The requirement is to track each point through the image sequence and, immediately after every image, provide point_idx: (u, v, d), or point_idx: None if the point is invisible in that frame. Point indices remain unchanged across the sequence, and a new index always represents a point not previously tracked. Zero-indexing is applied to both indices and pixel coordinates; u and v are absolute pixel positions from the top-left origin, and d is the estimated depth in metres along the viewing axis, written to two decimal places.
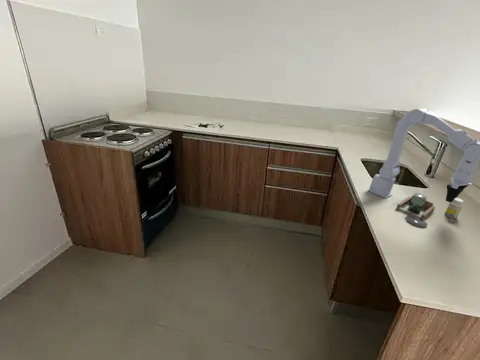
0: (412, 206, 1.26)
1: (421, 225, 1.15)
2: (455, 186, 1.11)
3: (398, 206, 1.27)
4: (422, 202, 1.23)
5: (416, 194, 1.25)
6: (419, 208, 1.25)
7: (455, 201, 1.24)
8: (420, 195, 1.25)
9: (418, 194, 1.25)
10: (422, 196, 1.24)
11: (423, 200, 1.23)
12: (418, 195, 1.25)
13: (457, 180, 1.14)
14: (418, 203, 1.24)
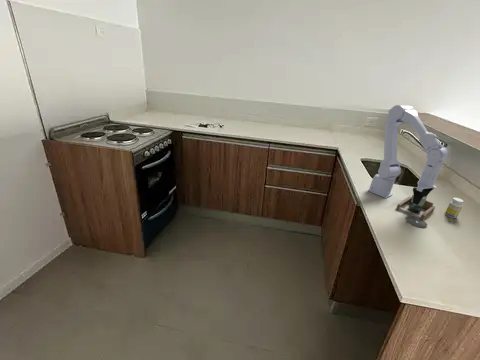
0: (412, 206, 1.26)
1: (421, 225, 1.15)
2: (420, 189, 1.18)
3: (398, 206, 1.27)
4: (422, 202, 1.23)
5: None
6: (419, 208, 1.25)
7: (455, 201, 1.24)
8: None
9: None
10: None
11: (423, 200, 1.23)
12: None
13: (422, 183, 1.21)
14: None
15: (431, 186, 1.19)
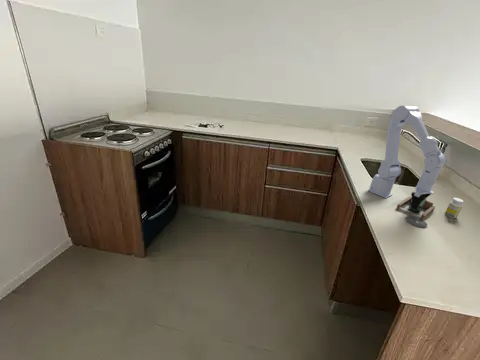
0: None
1: (421, 225, 1.15)
2: (417, 195, 1.19)
3: (398, 206, 1.27)
4: (422, 202, 1.23)
5: None
6: (419, 208, 1.25)
7: (455, 201, 1.24)
8: None
9: None
10: None
11: (423, 200, 1.23)
12: None
13: (420, 189, 1.22)
14: None
15: (428, 192, 1.21)
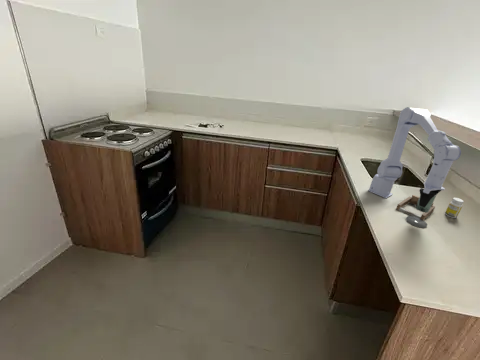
0: None
1: (421, 225, 1.15)
2: (426, 191, 1.06)
3: (398, 206, 1.27)
4: (431, 200, 1.11)
5: None
6: (427, 206, 1.12)
7: (455, 201, 1.24)
8: None
9: None
10: None
11: None
12: None
13: (429, 184, 1.09)
14: None
15: (439, 188, 1.08)
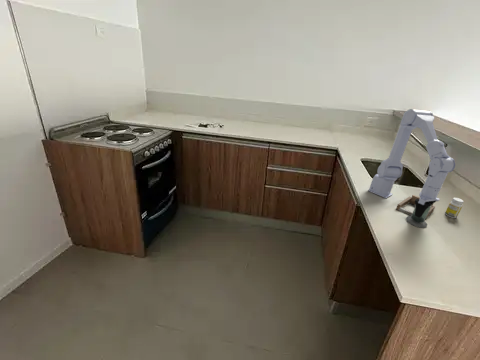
0: None
1: (421, 225, 1.15)
2: (422, 202, 1.08)
3: (398, 206, 1.27)
4: (426, 210, 1.13)
5: None
6: (423, 217, 1.14)
7: (455, 201, 1.24)
8: None
9: None
10: None
11: (427, 208, 1.12)
12: None
13: (424, 195, 1.11)
14: None
15: (434, 198, 1.10)
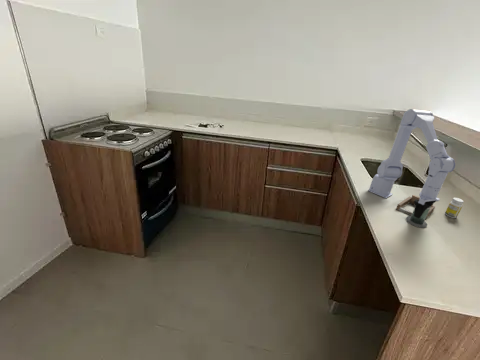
0: (414, 216, 1.16)
1: (421, 225, 1.15)
2: (422, 202, 1.08)
3: (398, 206, 1.27)
4: (425, 212, 1.13)
5: None
6: (422, 218, 1.15)
7: (455, 201, 1.24)
8: None
9: None
10: None
11: (426, 210, 1.13)
12: None
13: (424, 195, 1.11)
14: None
15: (434, 198, 1.10)
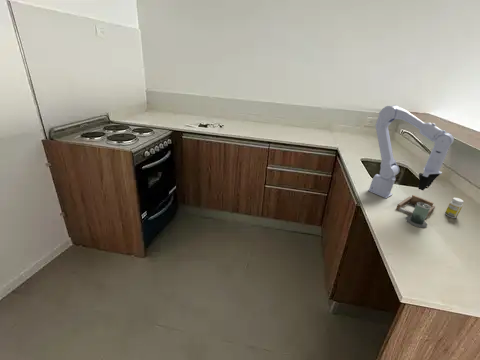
0: (414, 216, 1.16)
1: (421, 225, 1.15)
2: (426, 174, 1.19)
3: (398, 206, 1.27)
4: (425, 212, 1.13)
5: (419, 203, 1.15)
6: (422, 219, 1.15)
7: (455, 201, 1.24)
8: (423, 204, 1.15)
9: (421, 204, 1.15)
10: (425, 206, 1.14)
11: (426, 210, 1.13)
12: (421, 204, 1.15)
13: (428, 169, 1.22)
14: (421, 213, 1.14)
15: (437, 172, 1.21)
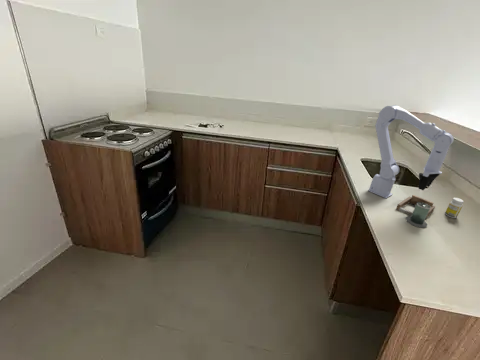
0: (414, 216, 1.16)
1: (421, 225, 1.15)
2: (426, 174, 1.19)
3: (398, 206, 1.27)
4: (425, 212, 1.13)
5: (419, 203, 1.15)
6: (422, 218, 1.15)
7: (455, 201, 1.24)
8: (423, 204, 1.15)
9: (421, 204, 1.15)
10: (425, 206, 1.14)
11: (426, 210, 1.13)
12: (421, 204, 1.15)
13: (428, 169, 1.22)
14: (420, 213, 1.14)
15: (437, 172, 1.21)
